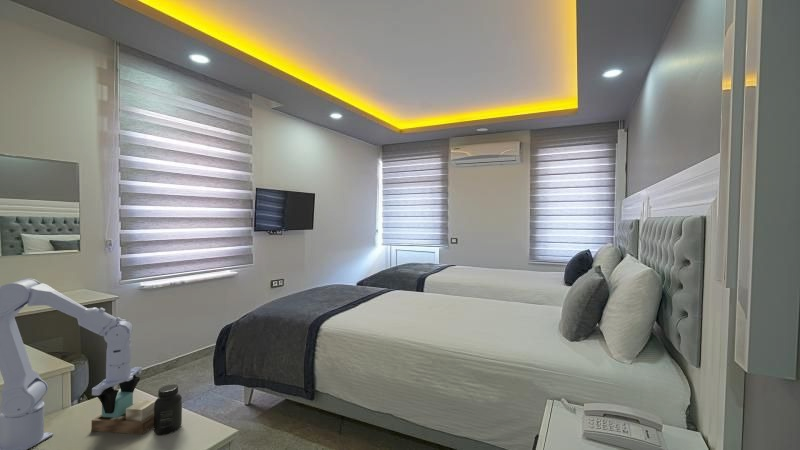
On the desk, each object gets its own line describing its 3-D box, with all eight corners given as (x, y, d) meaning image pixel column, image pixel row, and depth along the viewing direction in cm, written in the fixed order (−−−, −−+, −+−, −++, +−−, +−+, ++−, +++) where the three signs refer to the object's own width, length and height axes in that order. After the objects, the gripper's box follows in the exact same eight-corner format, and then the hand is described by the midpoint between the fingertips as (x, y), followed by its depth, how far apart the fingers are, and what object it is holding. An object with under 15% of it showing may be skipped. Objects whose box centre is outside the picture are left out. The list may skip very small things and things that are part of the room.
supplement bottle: (187, 423, 102) (187, 383, 102) (169, 437, 96) (170, 394, 96) (166, 421, 103) (166, 381, 103) (147, 435, 96) (148, 392, 96)
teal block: (101, 416, 99) (102, 399, 99) (117, 407, 104) (117, 391, 104) (117, 417, 99) (118, 400, 99) (132, 408, 104) (132, 392, 104)
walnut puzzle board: (91, 430, 98) (91, 409, 98) (117, 414, 106) (117, 395, 106) (142, 434, 97) (142, 413, 97) (164, 417, 105) (164, 398, 105)
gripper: (108, 373, 94) (107, 422, 94) (150, 353, 108) (150, 396, 108) (85, 372, 95) (84, 420, 95) (130, 352, 109) (129, 395, 109)
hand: (117, 407), depth 102 cm, fingers closed on teal block, 5 cm apart
